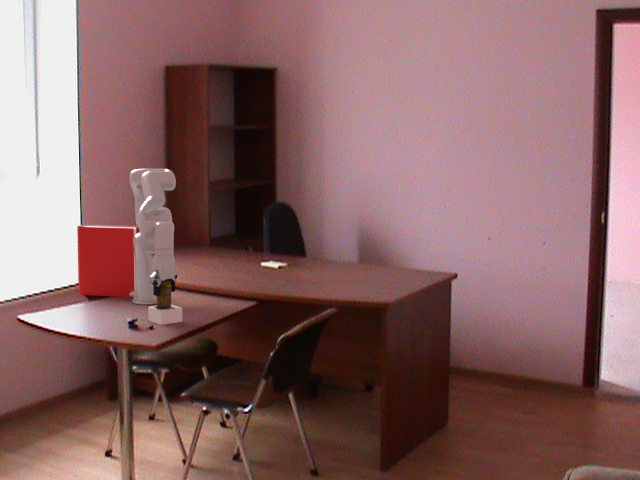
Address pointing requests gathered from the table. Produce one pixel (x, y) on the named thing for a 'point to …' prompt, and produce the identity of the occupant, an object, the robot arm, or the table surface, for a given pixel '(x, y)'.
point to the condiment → (164, 296)
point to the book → (106, 260)
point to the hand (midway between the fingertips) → (164, 293)
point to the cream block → (165, 315)
